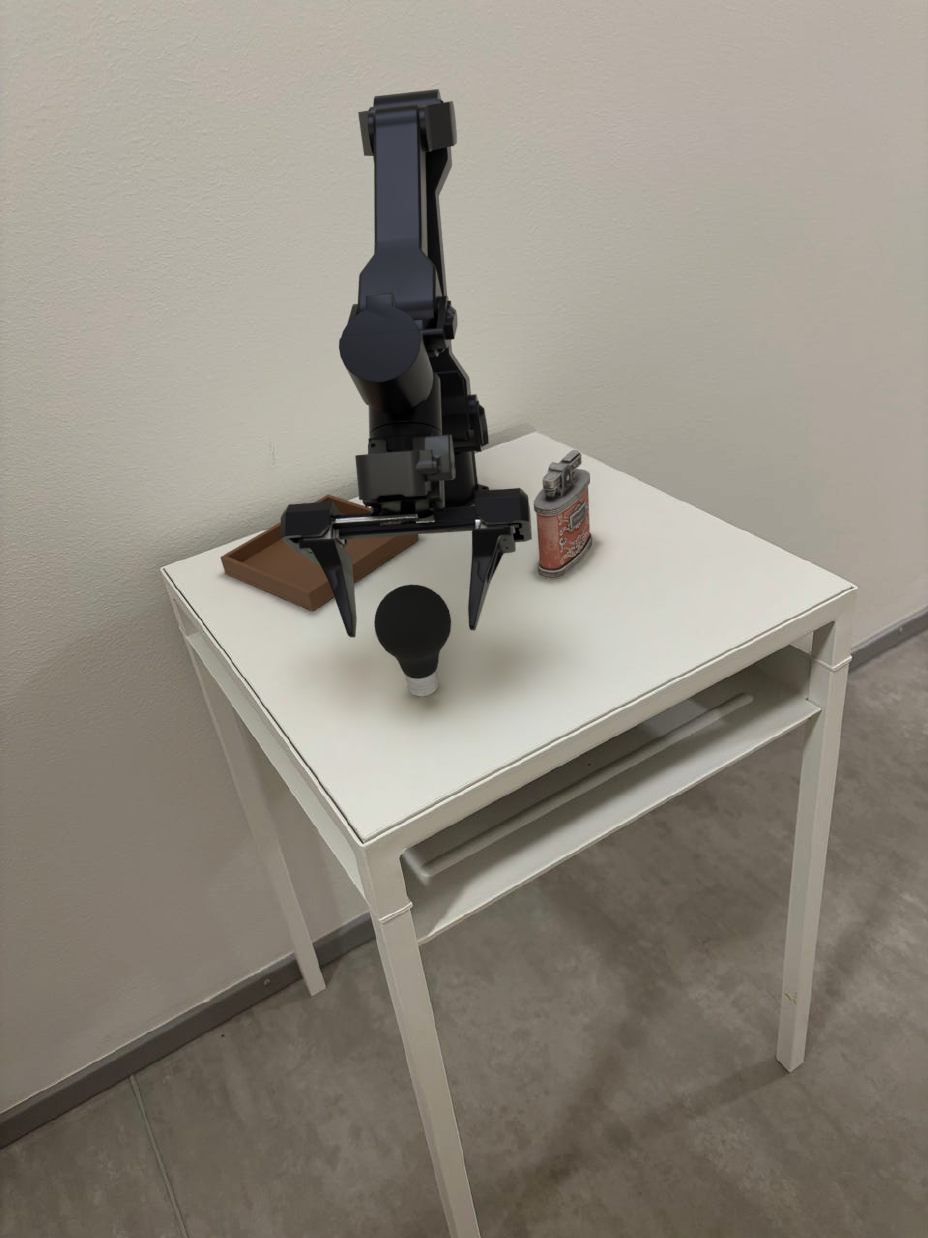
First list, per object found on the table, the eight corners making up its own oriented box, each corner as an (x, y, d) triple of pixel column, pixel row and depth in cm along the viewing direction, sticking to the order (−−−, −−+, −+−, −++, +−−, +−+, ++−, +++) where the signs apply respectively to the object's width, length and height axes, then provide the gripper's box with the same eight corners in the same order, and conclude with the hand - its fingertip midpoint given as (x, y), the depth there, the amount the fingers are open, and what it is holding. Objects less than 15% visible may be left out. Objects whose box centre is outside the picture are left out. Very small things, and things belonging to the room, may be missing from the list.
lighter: (562, 582, 88) (557, 485, 82) (530, 574, 89) (523, 479, 84) (599, 540, 93) (597, 447, 87) (568, 534, 95) (564, 442, 89)
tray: (331, 510, 104) (328, 494, 103) (419, 539, 97) (416, 522, 96) (225, 573, 95) (220, 557, 94) (312, 611, 88) (308, 593, 87)
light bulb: (374, 708, 75) (353, 604, 70) (411, 665, 80) (394, 564, 74) (438, 726, 73) (422, 620, 67) (473, 681, 77) (460, 577, 71)
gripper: (256, 405, 67) (256, 622, 64) (519, 383, 65) (531, 605, 63) (300, 459, 78) (301, 646, 75) (526, 441, 76) (537, 633, 73)
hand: (411, 633), depth 71 cm, fingers open, 9 cm apart
